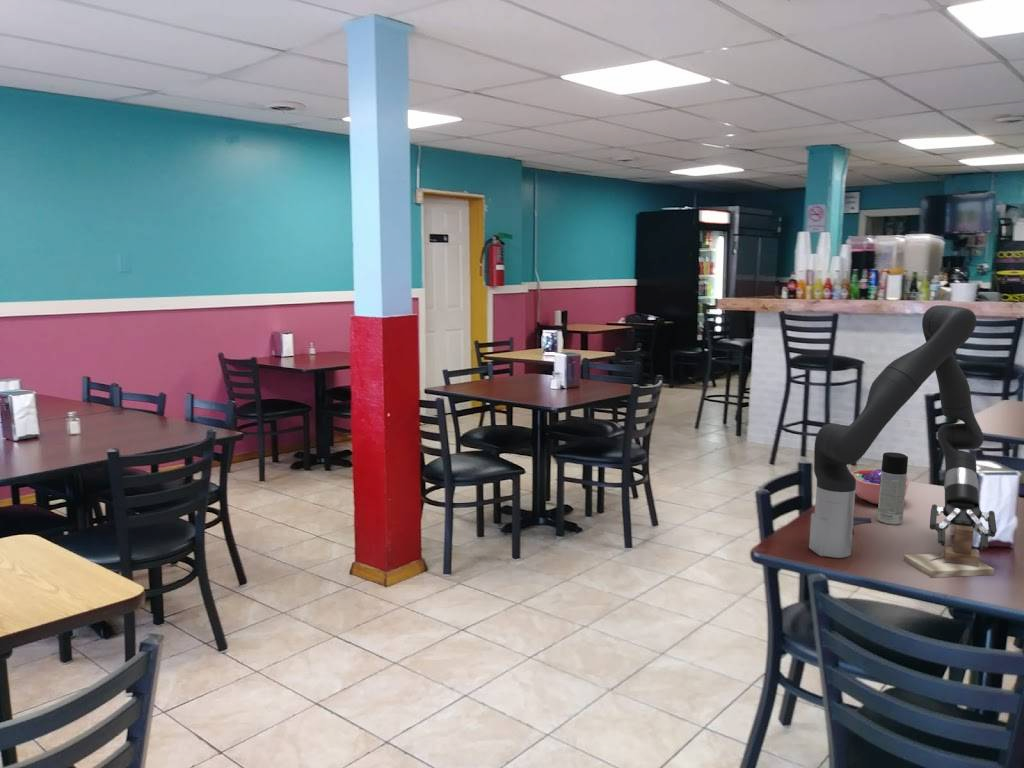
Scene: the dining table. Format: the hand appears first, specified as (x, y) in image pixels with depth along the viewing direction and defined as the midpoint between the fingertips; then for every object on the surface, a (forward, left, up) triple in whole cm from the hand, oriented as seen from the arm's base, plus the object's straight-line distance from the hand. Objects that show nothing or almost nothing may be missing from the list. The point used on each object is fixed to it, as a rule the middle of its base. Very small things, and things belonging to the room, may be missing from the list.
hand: (963, 547), depth 191 cm
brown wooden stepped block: (0, +1, -4) cm, 4 cm away
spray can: (+4, +36, -6) cm, 36 cm away
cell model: (+12, +55, -6) cm, 56 cm away
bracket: (-11, +33, -6) cm, 35 cm away
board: (-3, +1, -5) cm, 6 cm away
